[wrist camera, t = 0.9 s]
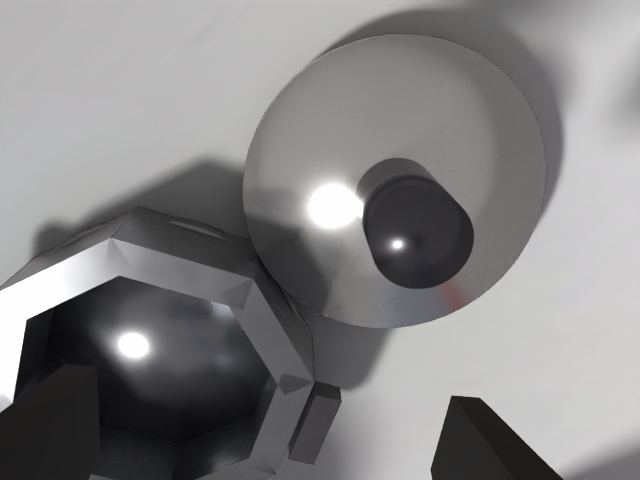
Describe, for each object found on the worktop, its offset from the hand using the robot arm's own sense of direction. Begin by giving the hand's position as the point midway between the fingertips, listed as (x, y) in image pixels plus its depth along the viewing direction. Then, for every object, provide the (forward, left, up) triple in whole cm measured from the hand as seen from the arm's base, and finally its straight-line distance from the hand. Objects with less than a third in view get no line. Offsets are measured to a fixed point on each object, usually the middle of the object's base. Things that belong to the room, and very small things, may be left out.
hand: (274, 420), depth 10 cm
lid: (-3, -3, -10) cm, 11 cm away
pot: (+3, +6, -10) cm, 12 cm away
